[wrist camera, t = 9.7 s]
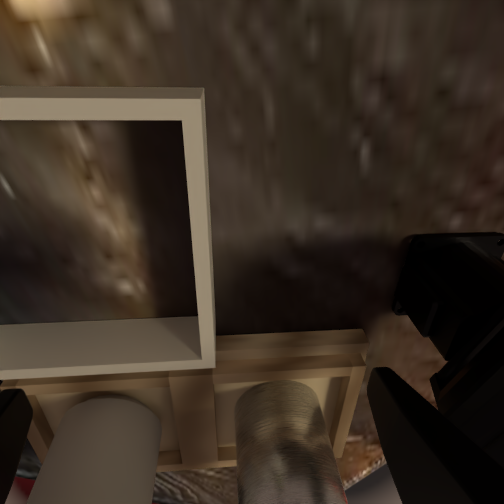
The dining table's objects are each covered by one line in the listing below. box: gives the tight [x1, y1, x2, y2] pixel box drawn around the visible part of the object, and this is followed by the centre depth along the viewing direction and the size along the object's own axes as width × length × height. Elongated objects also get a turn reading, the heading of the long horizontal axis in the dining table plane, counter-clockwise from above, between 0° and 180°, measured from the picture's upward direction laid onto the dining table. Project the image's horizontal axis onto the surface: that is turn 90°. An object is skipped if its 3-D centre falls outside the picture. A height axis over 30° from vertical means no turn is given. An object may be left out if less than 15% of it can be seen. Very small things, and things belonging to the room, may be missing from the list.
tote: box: [0, 86, 216, 380], centre depth 19 cm, size 16×16×4 cm
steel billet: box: [234, 380, 348, 504], centre depth 23 cm, size 7×7×12 cm
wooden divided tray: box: [0, 329, 370, 472], centre depth 28 cm, size 26×14×3 cm, turn 89°
